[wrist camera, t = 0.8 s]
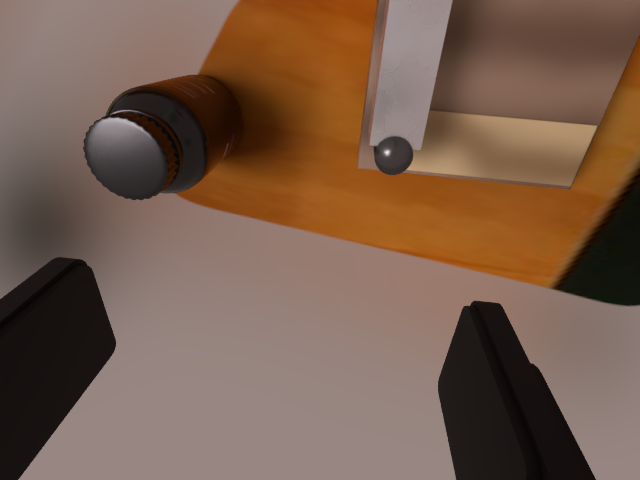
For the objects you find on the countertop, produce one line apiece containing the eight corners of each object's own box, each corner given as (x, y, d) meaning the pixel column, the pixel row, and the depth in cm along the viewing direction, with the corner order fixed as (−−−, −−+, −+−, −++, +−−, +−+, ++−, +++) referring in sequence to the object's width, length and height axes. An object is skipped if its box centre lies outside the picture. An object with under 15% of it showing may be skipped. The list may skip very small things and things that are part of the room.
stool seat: (401, -190, 21) (407, -224, 18) (696, -174, 20) (750, -207, 17) (357, 156, 31) (357, 168, 28) (552, 175, 30) (571, 190, 27)
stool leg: (408, 158, 27) (415, 177, 23) (365, 154, 27) (365, 172, 24) (466, -137, 19) (490, -174, 15) (405, -141, 19) (414, -178, 16)
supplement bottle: (244, 163, 32) (189, 226, 22) (168, 151, 32) (77, 209, 22) (245, 78, 28) (180, 106, 18) (160, 66, 29) (47, 87, 18)
